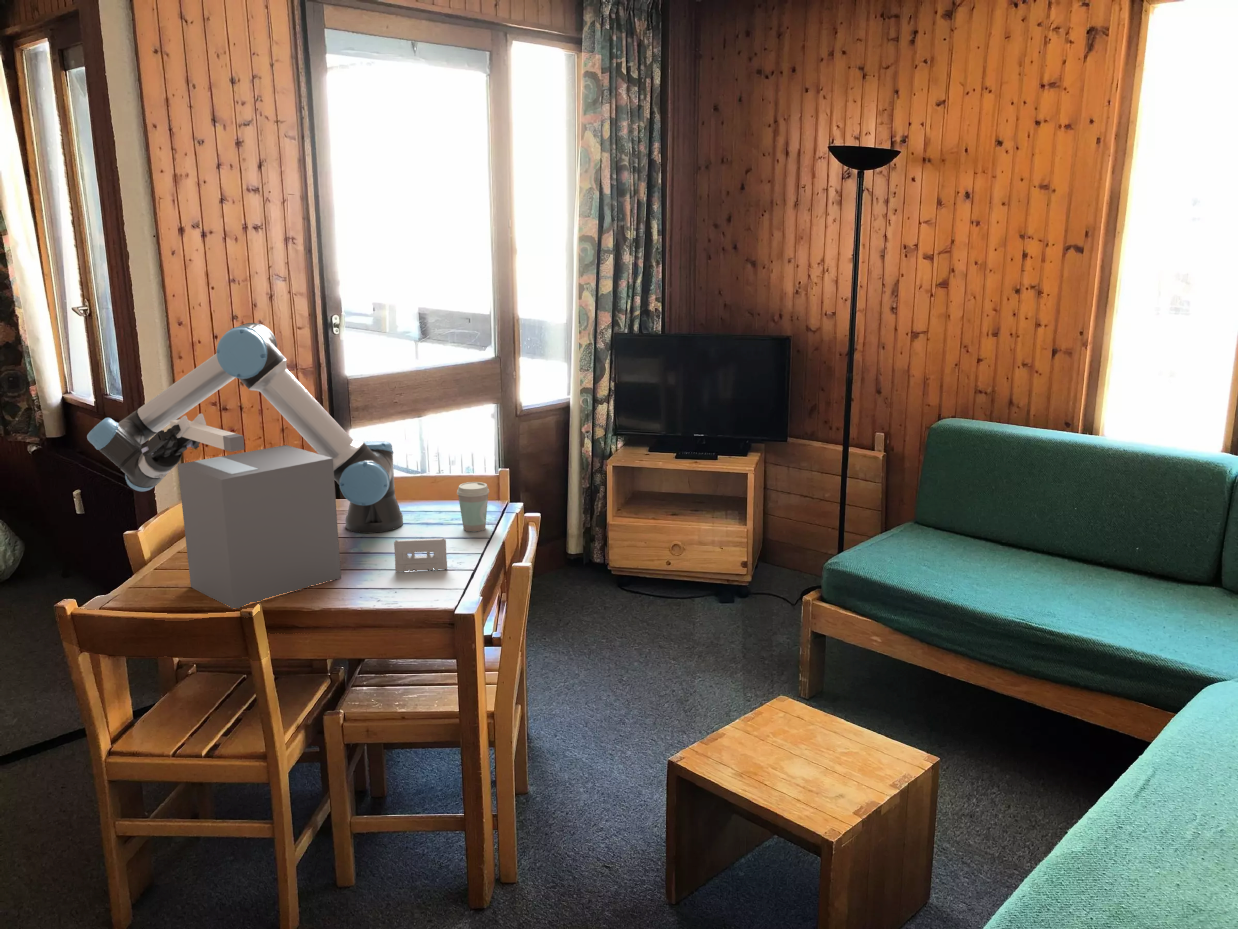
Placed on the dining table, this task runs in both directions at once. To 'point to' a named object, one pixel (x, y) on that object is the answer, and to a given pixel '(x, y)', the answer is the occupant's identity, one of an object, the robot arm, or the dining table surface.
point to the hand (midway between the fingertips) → (194, 420)
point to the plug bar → (213, 436)
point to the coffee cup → (473, 505)
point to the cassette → (420, 562)
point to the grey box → (259, 523)
